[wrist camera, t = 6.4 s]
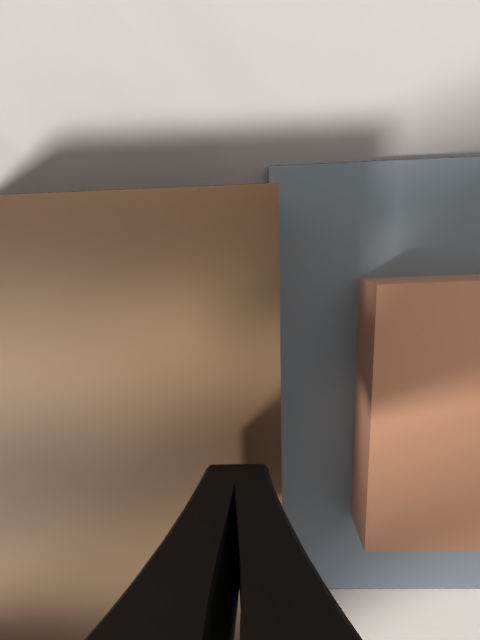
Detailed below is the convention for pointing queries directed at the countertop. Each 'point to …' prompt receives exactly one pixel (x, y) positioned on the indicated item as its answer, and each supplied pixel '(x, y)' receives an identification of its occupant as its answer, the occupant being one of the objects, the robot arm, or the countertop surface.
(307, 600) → the robot arm
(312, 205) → the mat
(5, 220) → the board
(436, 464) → the tile
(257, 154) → the countertop surface
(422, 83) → the countertop surface
